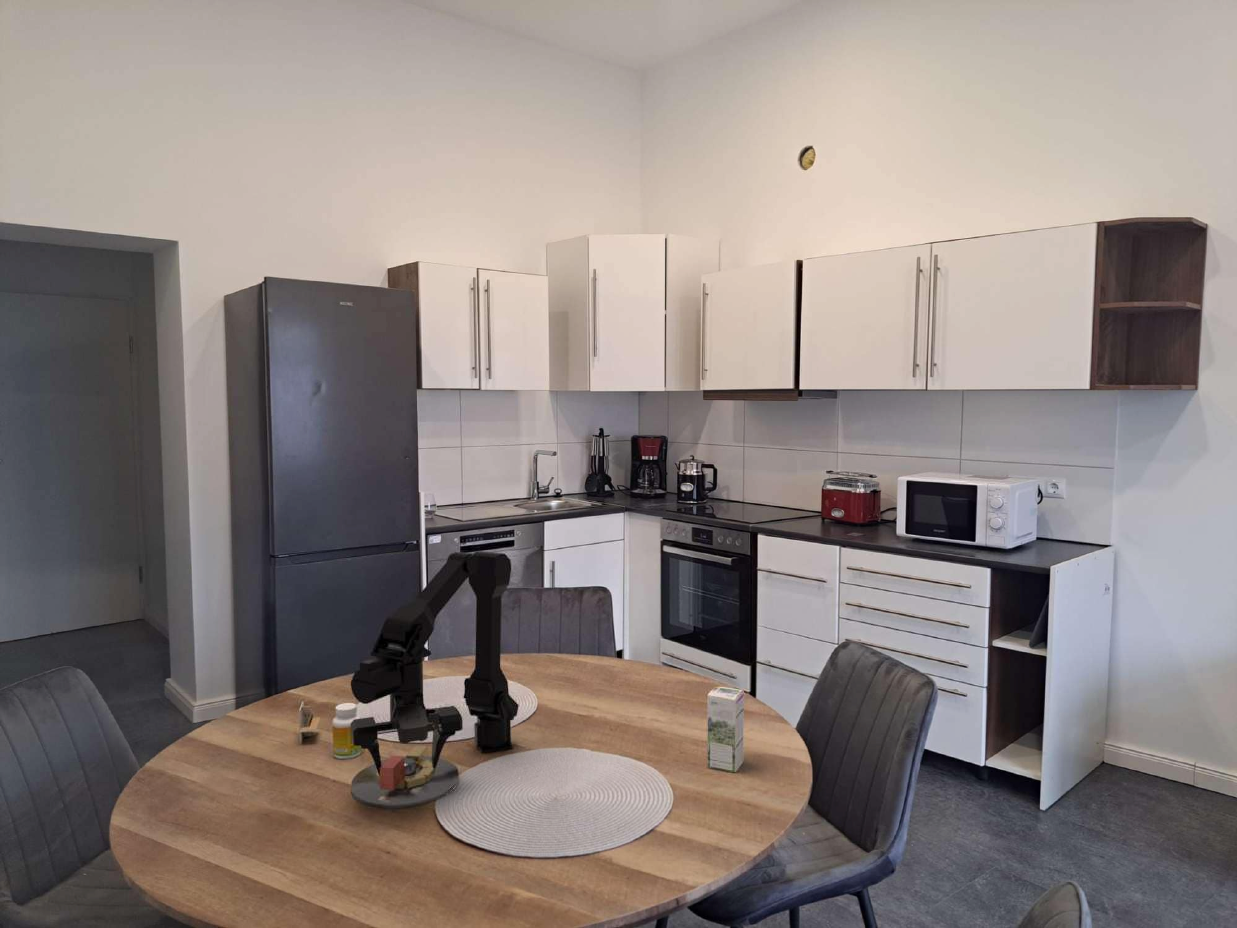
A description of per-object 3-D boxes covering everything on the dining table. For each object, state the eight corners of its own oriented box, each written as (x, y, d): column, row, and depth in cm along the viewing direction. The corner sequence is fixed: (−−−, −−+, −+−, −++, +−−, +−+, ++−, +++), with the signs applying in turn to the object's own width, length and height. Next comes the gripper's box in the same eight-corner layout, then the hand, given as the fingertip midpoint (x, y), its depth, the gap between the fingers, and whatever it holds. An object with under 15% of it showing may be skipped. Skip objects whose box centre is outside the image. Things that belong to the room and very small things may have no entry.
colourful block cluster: (357, 773, 156) (356, 746, 156) (424, 755, 164) (423, 729, 164) (384, 799, 146) (383, 770, 145) (453, 779, 153) (453, 751, 153)
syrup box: (744, 761, 164) (744, 688, 163) (735, 773, 158) (735, 698, 157) (716, 756, 166) (716, 684, 165) (706, 768, 161) (706, 693, 160)
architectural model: (320, 733, 180) (319, 699, 180) (316, 746, 173) (315, 711, 173) (303, 735, 179) (302, 701, 179) (299, 748, 173) (297, 712, 172)
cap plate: (448, 755, 167) (448, 735, 167) (467, 796, 150) (467, 774, 149) (347, 771, 160) (347, 750, 160) (355, 816, 143) (355, 793, 143)
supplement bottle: (353, 760, 165) (351, 711, 165) (327, 758, 166) (326, 710, 166) (366, 749, 171) (365, 702, 170) (342, 747, 172) (340, 700, 171)
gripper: (356, 708, 138) (358, 801, 139) (469, 693, 146) (470, 781, 147) (349, 687, 148) (350, 773, 150) (455, 674, 156) (456, 756, 157)
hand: (407, 771), depth 150 cm, fingers open, 9 cm apart
